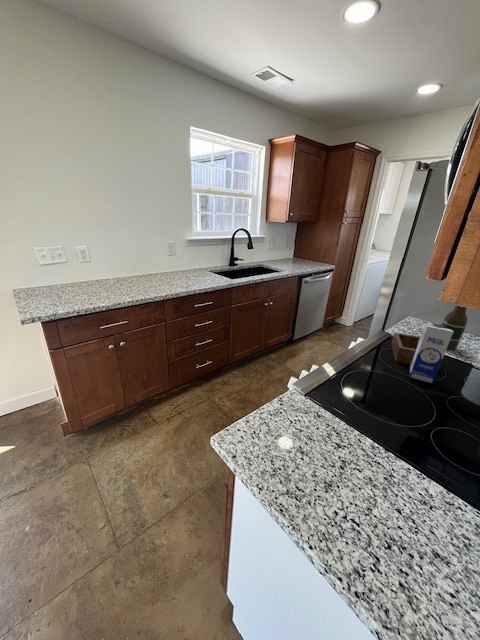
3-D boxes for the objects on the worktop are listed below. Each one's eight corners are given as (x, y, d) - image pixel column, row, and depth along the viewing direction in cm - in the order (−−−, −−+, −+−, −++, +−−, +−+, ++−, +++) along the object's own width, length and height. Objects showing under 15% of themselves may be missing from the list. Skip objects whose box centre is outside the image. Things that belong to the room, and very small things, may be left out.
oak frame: (429, 351, 110) (434, 338, 108) (439, 369, 98) (444, 356, 95) (391, 344, 115) (394, 332, 112) (395, 361, 102) (399, 347, 100)
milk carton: (409, 377, 93) (427, 325, 85) (408, 367, 98) (425, 318, 90) (433, 383, 90) (454, 331, 82) (431, 374, 95) (451, 323, 87)
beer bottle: (457, 352, 110) (480, 297, 101) (435, 346, 114) (455, 293, 104) (455, 344, 116) (477, 292, 107) (434, 340, 120) (453, 289, 110)
